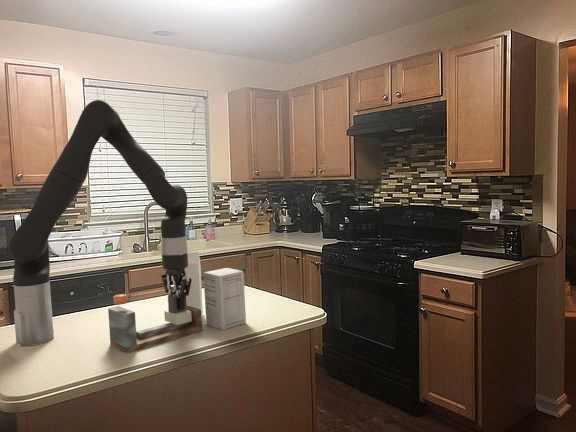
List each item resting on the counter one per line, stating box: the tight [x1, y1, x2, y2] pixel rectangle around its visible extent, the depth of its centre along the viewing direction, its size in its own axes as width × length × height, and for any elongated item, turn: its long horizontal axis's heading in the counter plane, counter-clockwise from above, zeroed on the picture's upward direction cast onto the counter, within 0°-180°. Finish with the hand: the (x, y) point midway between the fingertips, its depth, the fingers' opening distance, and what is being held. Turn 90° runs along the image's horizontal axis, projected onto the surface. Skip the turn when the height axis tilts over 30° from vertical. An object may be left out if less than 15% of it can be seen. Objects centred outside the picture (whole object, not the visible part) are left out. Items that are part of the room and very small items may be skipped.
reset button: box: [113, 293, 128, 306], centre depth 129 cm, size 4×4×2 cm
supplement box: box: [203, 267, 247, 331], centre depth 148 cm, size 10×9×17 cm
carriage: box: [163, 292, 192, 325], centre depth 142 cm, size 5×7×8 cm
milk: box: [185, 251, 204, 319], centre depth 156 cm, size 6×6×22 cm
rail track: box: [107, 305, 203, 354], centre depth 137 cm, size 24×10×10 cm, turn 135°
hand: (177, 308), depth 142 cm, fingers closed on carriage, 3 cm apart
